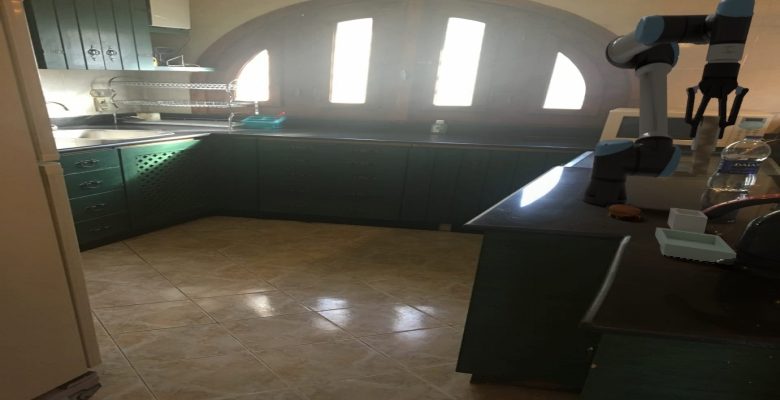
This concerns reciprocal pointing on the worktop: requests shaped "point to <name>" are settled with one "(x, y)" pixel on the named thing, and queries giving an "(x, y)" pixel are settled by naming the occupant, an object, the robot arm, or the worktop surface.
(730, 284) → the worktop surface
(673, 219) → the white square box
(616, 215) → the burger
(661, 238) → the tray
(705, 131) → the peg
